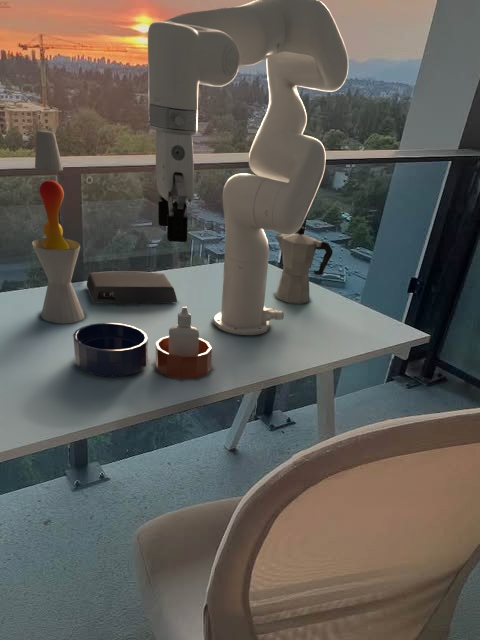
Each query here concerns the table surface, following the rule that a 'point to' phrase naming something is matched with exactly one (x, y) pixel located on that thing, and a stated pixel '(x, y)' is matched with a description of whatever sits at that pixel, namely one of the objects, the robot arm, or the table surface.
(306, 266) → the coffeepot
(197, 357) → the brown round container
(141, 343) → the bowl
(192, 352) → the eye dropper bottle
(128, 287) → the hard drive
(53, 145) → the lava lamp
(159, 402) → the table surface
